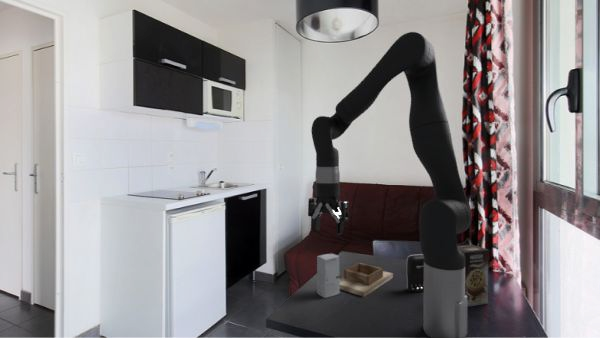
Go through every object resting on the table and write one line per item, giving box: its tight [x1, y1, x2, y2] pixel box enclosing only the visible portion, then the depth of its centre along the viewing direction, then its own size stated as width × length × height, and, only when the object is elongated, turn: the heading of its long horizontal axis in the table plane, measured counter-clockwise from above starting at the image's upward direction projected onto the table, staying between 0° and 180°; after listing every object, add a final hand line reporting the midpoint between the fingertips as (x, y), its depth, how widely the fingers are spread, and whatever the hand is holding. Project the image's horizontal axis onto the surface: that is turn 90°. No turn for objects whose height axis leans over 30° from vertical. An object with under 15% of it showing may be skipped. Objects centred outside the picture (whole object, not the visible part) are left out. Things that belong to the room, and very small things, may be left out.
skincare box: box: [316, 252, 341, 299], centre depth 101 cm, size 6×4×12 cm
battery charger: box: [405, 253, 424, 293], centre depth 103 cm, size 7×4×11 cm, turn 101°
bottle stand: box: [339, 262, 394, 298], centre depth 110 cm, size 12×20×4 cm, turn 139°
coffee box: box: [457, 244, 490, 308], centre depth 95 cm, size 9×6×16 cm
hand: (327, 232), depth 101 cm, fingers open, 8 cm apart
